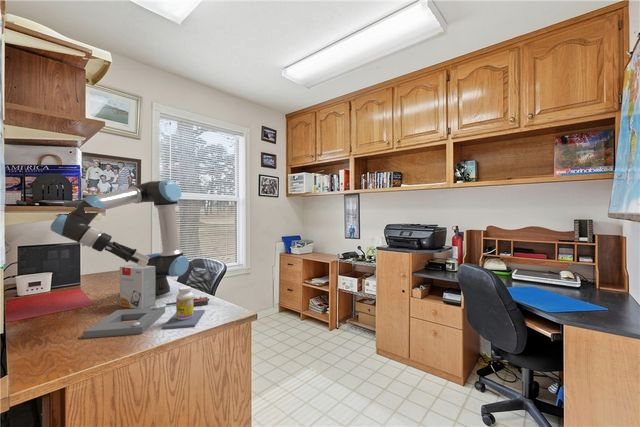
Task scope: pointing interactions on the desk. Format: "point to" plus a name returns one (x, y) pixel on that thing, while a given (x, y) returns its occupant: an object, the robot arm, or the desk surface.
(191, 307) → the supplement bottle
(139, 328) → the frame
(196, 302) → the walkie-talkie
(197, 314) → the mat
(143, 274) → the hard drive box
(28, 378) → the desk surface
